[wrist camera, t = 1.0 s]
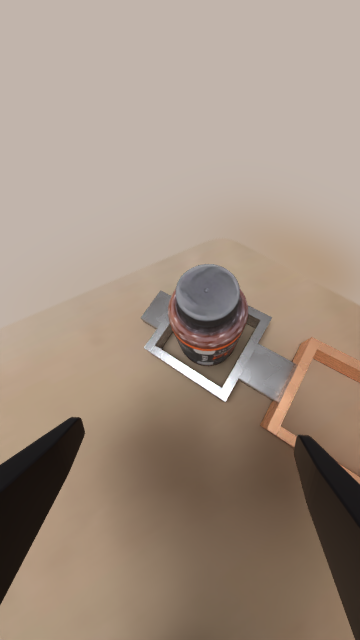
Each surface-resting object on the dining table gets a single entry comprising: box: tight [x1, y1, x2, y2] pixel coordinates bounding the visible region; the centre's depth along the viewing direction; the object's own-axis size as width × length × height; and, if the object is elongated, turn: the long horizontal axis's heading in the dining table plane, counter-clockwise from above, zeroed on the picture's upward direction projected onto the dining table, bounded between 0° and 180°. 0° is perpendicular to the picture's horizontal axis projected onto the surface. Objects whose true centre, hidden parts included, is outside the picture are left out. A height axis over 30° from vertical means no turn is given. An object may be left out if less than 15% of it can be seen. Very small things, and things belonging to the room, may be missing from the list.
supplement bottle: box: [168, 264, 248, 366], centre depth 18 cm, size 6×6×11 cm
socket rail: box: [141, 291, 360, 484], centre depth 21 cm, size 28×9×2 cm, turn 57°
